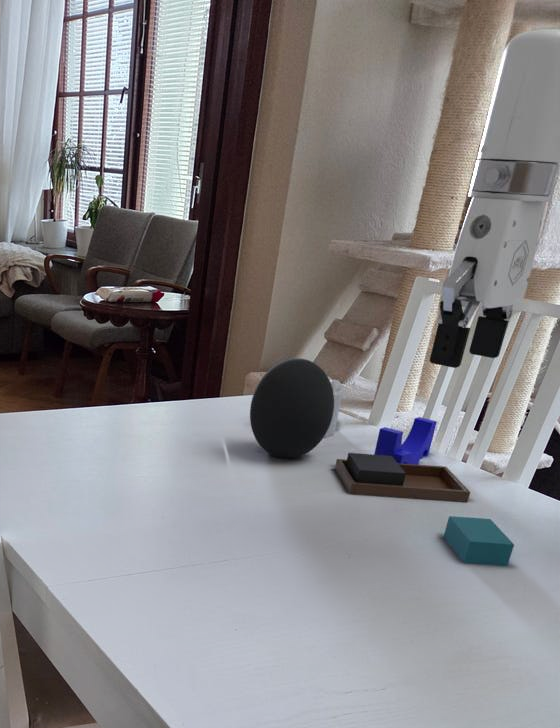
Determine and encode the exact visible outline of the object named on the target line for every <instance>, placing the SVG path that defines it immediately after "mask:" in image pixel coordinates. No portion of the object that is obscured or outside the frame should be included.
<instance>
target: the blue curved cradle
mask: <svg viewBox="0 0 560 728" xmlns="http://www.w3.org/2000/svg"><path fill="white" fill-rule="evenodd" d="M437 423H438V421H437V420H433V419H428V418H425V417H422V416H421V417H420V416H418V417H414V419H413V422H412V425H411V428H410V431H409V433H408V435H407V436H406V438H405V440H404V441H403V434H404V431H402V430H398V429H394V428H390V427H386V426H384V427H381V428H379V431H378V435H377V441H376V445H375V450H374V454H373V455H386V456H392V457H393V458H394V459H395V460H396V462H397V463H403V464H417V465H420V460H421V459H423V457H425V458H426V457H428V456H429V454H430V450H431V446H432V444H433V443H432V442H433V439H434V435H435V431H436V427H437Z"/></svg>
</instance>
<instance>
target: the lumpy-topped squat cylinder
mask: <svg viewBox="0 0 560 728" xmlns="http://www.w3.org/2000/svg"><path fill="white" fill-rule="evenodd" d="M327 377H328V378H329V380H330V383H331V385H332V389H333V394H334V412H333V417H332V421H331V424H330V426H329V429H328V431H327V432H326V434H325V436H324V437H323V439H324V438H329V437H331V436H333V435H335V432H336V428H337V423H338V417H339V413H340V409H341V404H342V403H341V402H342V398H343V393H344V389H343V385H342V383H341V382H340V381H339V380H338V379H333V378H331V377H330V376H328V375H327Z"/></svg>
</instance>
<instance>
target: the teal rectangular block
mask: <svg viewBox="0 0 560 728" xmlns="http://www.w3.org/2000/svg"><path fill="white" fill-rule="evenodd" d="M443 538H444V539H445V540H446V542H447V543H448V545H449V546H450V547H451V548H452V550H453V551H454V553H455V554H456V555H457V556H458V557H459V559H460V560H461V561H462V563H463V564H473V565H485V566H486V565H488V566H499V567H500V566H501V567H508V565H509V562H510V559H511V556H512V553H513V551H514V547H515V544H514V543H513V541H511V539H510V538H509V537H508V536H507V535H506V534H505V533H504V532H503V531H502V530H501V528H499V526H498V525H497V524H496V523H495V522H494V521H493V520H492V519H491V518H482V517H481V518H480V517H470V516H454V515H449V516H448V519H447V522H446V526H445V530H444V533H443Z"/></svg>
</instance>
